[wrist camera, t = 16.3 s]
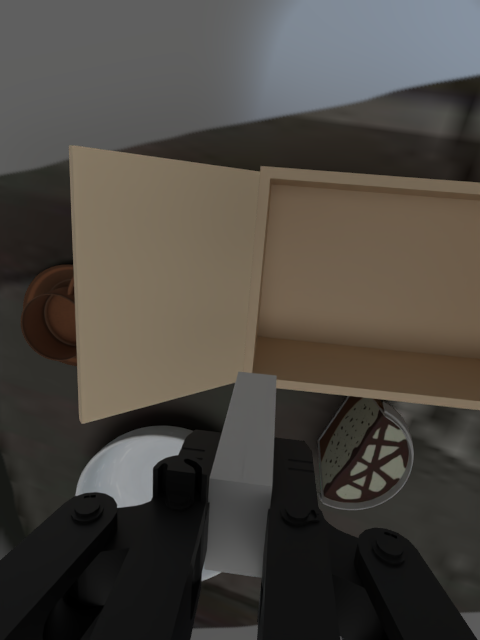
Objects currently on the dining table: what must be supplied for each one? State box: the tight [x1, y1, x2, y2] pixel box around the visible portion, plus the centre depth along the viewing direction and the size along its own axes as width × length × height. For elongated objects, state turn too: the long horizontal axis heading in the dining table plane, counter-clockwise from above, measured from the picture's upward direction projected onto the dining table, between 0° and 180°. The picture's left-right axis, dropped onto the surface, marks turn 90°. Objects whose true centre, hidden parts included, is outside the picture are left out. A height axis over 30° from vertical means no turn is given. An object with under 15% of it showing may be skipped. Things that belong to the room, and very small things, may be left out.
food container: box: [318, 396, 414, 510], centre depth 44 cm, size 12×6×10 cm, turn 152°
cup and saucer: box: [21, 265, 77, 366], centre depth 45 cm, size 12×12×6 cm
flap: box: [69, 145, 260, 424], centre depth 29 cm, size 17×14×1 cm
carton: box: [243, 166, 480, 410], centre depth 38 cm, size 18×28×12 cm, turn 86°
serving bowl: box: [76, 426, 221, 581], centre depth 50 cm, size 21×21×7 cm
